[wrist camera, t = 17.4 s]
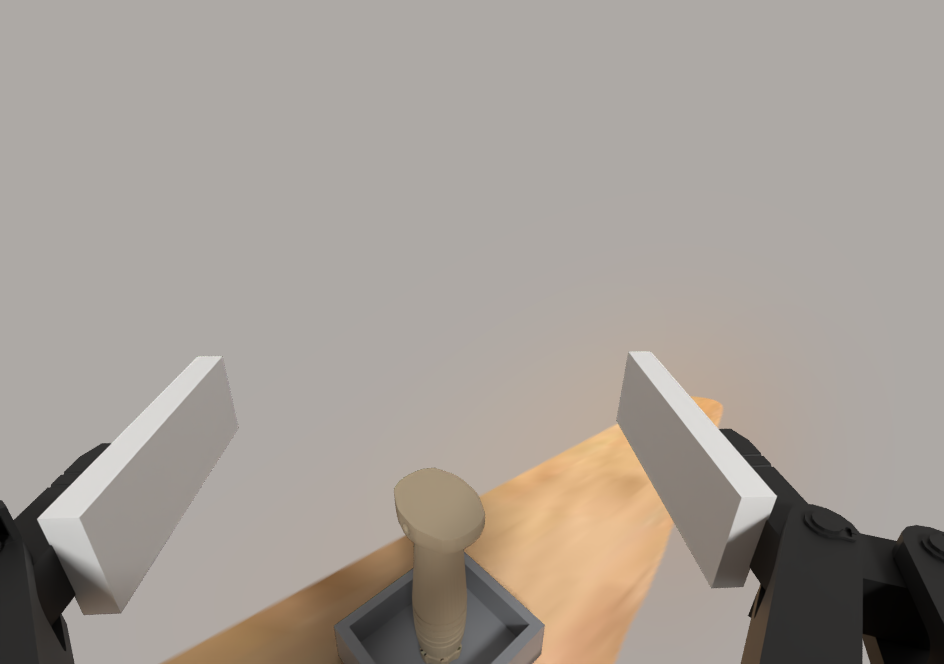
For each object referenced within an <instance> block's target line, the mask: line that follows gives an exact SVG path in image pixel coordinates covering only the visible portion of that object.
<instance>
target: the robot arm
mask: <svg viewBox="0 0 944 664" xmlns="http://www.w3.org/2000/svg"><path fill="white" fill-rule="evenodd" d="M616 421H617V422H618V424H619V426H620V428H621V430H622V431H623V433H624V435H625V437H626V438H627V440H628V442H629V444H630V445H631V447H632V449H633V451H634V452H635V454H636V456H637V458H638V460H639V461H640V463H641V465H642V467H643V468H644V470H645V472H646V474H647V475H648V477H649V479H650V481H651V482H652V484H653V486H654V488H655V490H656V491H657V493H658V495H659V497H660V498H661V500H662V502H663V504H664V505H665V507H666V509H667V511H668V512H669V514H670V516H671V518H672V520H673V521H674V523H675V525H676V527H677V528H678V530H679V532H680V534H681V535H682V537H683V539H684V541H685V542H686V544H687V546H688V548H689V550H690V551H691V553H692V555H693V557H694V558H695V560H696V562H697V564H698V565H699V567H700V569H701V571H702V573H703V574H704V576H705V578H706V579H707V581H708V583H709V585H710V587H711V588H731V587H743V586H744V583H745V581H746V578H747V576H748V573H749V570H750V568H751V570H752V571H753V573H754V574H755V576H756V577H757V579H758V580H759V582H760V583H761V584H760V587H759V589H758V592H757V594H756V597H755V600H754V602H753V605H752V607H751V610H750V612H749V615H748V616H749V617H751V621H750V626H749V630H748V635H747V639H746V643H745V647H744V652H743V656H742V661H741V664H862V638H863V641H864V645H865V647H866V651H867V654H868V657H869V660H870V663H871V664H944V532H942V531H939V530H936V529H934V528H931V527H924V526H918V525H915V526H909V527H906V528H905V529H904V530H903V531H902V533H901V535H900V537H899V538H898V540H897V541H894V540H889V539H885V538H879V537H875V536H870V535H865V534H861V533H859V531H857V529H856V528H855V527H854V526H853V524H852V523H850V522H849V521H847V520H846V519H845V518H843V517H842V516H841V515H839V514H837V513H835V512H833V511H831V510H829V509H827V508H823V507H819V506H816V505H813V504H812V505H811V504H808V503H807V502H806V501H805V500H804V499H803V498H802V497H801V496H800V495H799V494H798V492H797V491H796V490H795V489H794V488H793V487H792V486H791V485H790V484H789V483H788V482H787V481H786V480H785V479H784V477H783V476H782V475H780V473H779V472H778V471H777V470H776V469H775V468H774V467H771V464H770V462H769V461H768V460H767V459H766V458H765V457H764V456H761V453H760V452H759V451H758V450H757V449H756V447H755V446H754V445H753V444H752V443H751V442H750V441H749V440H748V439H746V438H744V437H743V436H741V435H739V434H738V433H737V432H735V431H733V430H732V429H718V428H717V427H716V426H715V425H714V424H713V422H712V421H711V420H710V419H709V418H708V417H707V416H706V414H705V413H704V412H703V411H702V410H701V409H700V407H699V406H698V405H697V404H696V403H695V402H694V401H693V399H692V398H691V397H690V396H689V395H688V394H687V393H686V392H685V390H684V389H683V388H682V387H681V386H680V385H679V384H678V382H677V381H676V380H675V379H674V378H673V376H672V375H671V374H670V373H669V372H668V371H667V370H666V369H665V367H664V366H663V365H662V364H661V363H660V362H659V360H658V359H657V358H656V357H655V356H654V355H653V353H651V352H628V357H627V362H626V369H625V374H624V380H623V385H622V391H621V397H620V403H619V408H618V415H617V420H616ZM238 428H239V427H238V423H237V418H236V413H235V409H234V405H233V401H232V396H231V391H230V387H229V382H228V378H227V373H226V369H225V365H224V360H223V356H199V357H197V358H196V359H195V360H194V361H193V362H192V363H191V364H190V365H189V366H188V367H187V368H186V369H185V370H184V371H183V372H182V373H181V374H180V375H179V376H178V377H177V378H176V379H175V380H174V381H173V382H172V383H171V384H170V385H169V386H168V387H167V388H166V389H165V390H164V391H163V392H162V393H161V394H160V395H159V396H158V397H157V398H156V399H155V400H154V401H153V402H152V403H151V404H150V405H149V406H148V407H147V408H146V409H145V411H143V412H142V413H141V414H140V415H139V416H138V417H137V418H136V419H135V420H134V421H133V422H132V423H131V424H130V425H129V426H128V427H127V428H126V429H125V430H124V431H123V432H122V433H121V434H120V435H119V436H118V438H117V439H116V440H115V441H114V442H113V443H102V444H100V445H99V446H97V447H95V448H94V449H92V450H90V451H89V452H87V453H85V454H84V455H82V456H80V457H79V458H78V459H77V460H76V461H75V462H74V463H73V464H72V465H71V466H70V467H69V468H68V469H67V470H66V471H65V472H64V475H60V476H59V477H58V478H57V479H56V480H55V481H54V482H53V483H52V484H51V487H50V488H47V489H46V490H45V491H44V492H43V493H42V494H41V495H39V496H38V497H37V498H36V499H35V500H34V501H33V502H32V503H31V504H30V505H29V506H28V507H27V508H26V509H25V510H24V511H23V512H22V513H21V514H20V515H19V516H18V517H17V518H16V519H14V520H13V519H12V517H11V515H10V513H9V511H8V509H7V507H6V505H5V504H4V503H3V501H1V500H0V664H74V659H73V654H72V649H71V644H70V639H69V633H68V628H67V624H66V622H65V620H64V618H63V616H62V614H61V613H62V612H63V611H64V609H65V608H66V606H68V604H69V603H70V602H71V600H72V599H73V598H74V596H75V598H76V600H77V602H78V604H79V606H80V609H81V611H82V613H83V614H84V615H93V614H117V613H121V612H122V611H123V609H124V608H125V606H126V605H127V603H128V601H129V600H130V598H131V597H132V595H133V593H134V592H135V590H136V589H137V587H138V585H139V584H140V583H141V581H142V579H143V578H144V576H145V575H146V573H147V572H148V570H149V568H150V567H151V565H152V564H153V562H154V561H155V559H156V557H157V556H158V554H159V552H160V551H161V549H162V548H163V546H164V545H165V543H166V542H167V540H168V538H169V537H170V535H171V534H172V532H173V531H174V529H175V527H176V526H177V524H178V522H179V521H180V520H181V518H182V516H183V515H184V513H185V512H186V510H187V509H188V507H189V505H190V504H191V502H192V501H193V499H194V498H195V496H196V494H197V493H198V491H199V489H200V488H201V487H202V485H203V483H204V482H205V480H206V479H207V477H208V476H209V474H210V472H211V471H212V469H213V468H214V466H215V464H216V463H217V461H218V460H219V458H220V457H221V455H222V454H223V452H224V450H225V449H226V447H227V446H228V444H229V442H230V441H231V439H232V438H233V436H234V435H235V433H236V432H237V430H238Z"/></svg>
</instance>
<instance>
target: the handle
mask: <svg viewBox="0 0 944 664" xmlns="http://www.w3.org/2000/svg"><path fill="white" fill-rule="evenodd" d="M394 496H395V505H396V512H397V517H398V520H399V523H400V525H401V527H402V529H403V531H404V533H405V535H406V536H407V538H409V539H410V540H411V541H412V542H414V563H413V590H412V604H413V617H414V624H415V630H416V635H417V639H418V642H419V645H420V646H421V648H420V654H421V657H422V659H423V661H424V662H425V663H426V664H429V663H431V664H449V663H450V662H451V661H453V660H455V659H458V658H459V656H460V653H461V649H462V645H461V641H462V638H463V635H464V630H465V624H466V615H467V588H466V574H465V559H464V549H465V548H466V547H468V546H470V545H471V544H472V543H474V542H475V541H476V540H477V539H478V538H479V537H480V535H481V533H482V531H483V528H484V524H485V512H484V509H483V506H482V503H481V501H480V498H479V496H478V495H477V493H476V492H475V491H474V490H473V489H472V488H471V487H470V486H469V485H468V484H467V483H466V482H465V481H463V480H462V479H461V478H459V477H458V476H456V475H454V474H452V473H449V472H446V471H443V470H440V469H436V468H427V469H421V470H418V471H415V472H413V473H411V474H409V475H407V476H406V477H404V478H403V479H402V480H400V481H399V482H398V484H397V485H396V486H395V488H394Z"/></svg>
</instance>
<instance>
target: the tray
mask: <svg viewBox="0 0 944 664" xmlns="http://www.w3.org/2000/svg"><path fill="white" fill-rule="evenodd" d="M464 559H465V574H466V588H467V615H466V624H465V630H464V635H463V638H462V641H461V645H462V649H461V653H460V656H459V658H458V659H455V660H453V661H451V662H450V663H449V664H533V663H534V661H535V660H536V659H537V658H538V657H539V656H540V655H541V651H542V643H543V635H544V627H545V625H544V624H543V623H542V622H541V621H540V620H539V619H538V618H536V617H535V616H534V615H533V614H532V613H531V612H530V611H529V610H528V609H527V608H525V607H524V606H523V605H522V604H521V603H520V602H519V601H518V600H517V599H516V598H515V597H513V596H512V595H511V594H510V593H509V592H508V591H507V590H506V589H505V588H504V587H502V586H501V585H500V584H499V583H498V582H497V581H496V580H495V579H494V578H493V577H491V576H490V575H489V574H488V573H487V572H486V571H485V570H484V569H483V568H482V567H480V566H479V565H478V564H477V563H476V562H475V561H474V560H473V559H472V558H471V557H470V556H468V555H467V554H466V553H465V552H464ZM412 590H413V569H411V570H410V571H409V572H407V573H406V574H404V575H403V576H402V577H400V578H399V579H398V580H396V581H395V582H393V583H392V584H391V585H389V586H388V587H387V588H385V589H384V590H382V591H381V592H380V593H378V594H377V595H376V596H374V597H373V598H372V599H370V600H369V601H367V602H366V603H365V604H363V605H362V606H361V607H359V608H358V609H356V610H355V611H354V612H352V613H351V614H350V615H348V616H347V617H345V618H344V619H343V620H341V621H340V622H339V623H337V624H336V625H334V630H335V637H336V643H337V650H338V656H339V657H340V659H341V660H342V662H343V663H344V664H426V663H425V662H424V661H423V659H422V657H421V654H420V648H421V646H420V645H419V642H418V639H417V635H416V630H415V624H414V617H413V604H412ZM429 664H431V663H429Z"/></svg>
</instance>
